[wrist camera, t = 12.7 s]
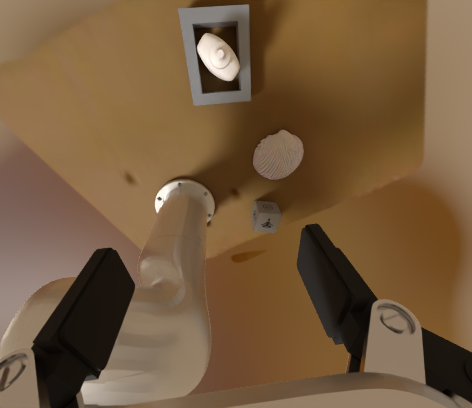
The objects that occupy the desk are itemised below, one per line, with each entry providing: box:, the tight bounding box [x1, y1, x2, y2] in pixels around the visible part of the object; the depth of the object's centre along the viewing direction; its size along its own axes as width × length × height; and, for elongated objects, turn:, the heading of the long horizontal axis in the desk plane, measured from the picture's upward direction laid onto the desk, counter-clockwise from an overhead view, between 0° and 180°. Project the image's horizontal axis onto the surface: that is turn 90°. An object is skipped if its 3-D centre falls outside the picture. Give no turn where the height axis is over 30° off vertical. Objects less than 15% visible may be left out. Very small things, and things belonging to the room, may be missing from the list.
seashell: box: [253, 130, 304, 180], centre depth 38 cm, size 10×6×10 cm
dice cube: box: [251, 200, 282, 233], centre depth 44 cm, size 5×5×5 cm
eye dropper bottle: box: [197, 33, 240, 81], centre depth 25 cm, size 4×6×12 cm
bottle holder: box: [178, 4, 251, 106], centre depth 29 cm, size 11×9×3 cm
